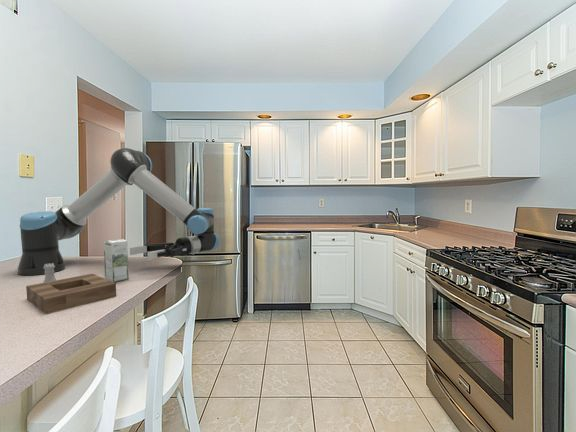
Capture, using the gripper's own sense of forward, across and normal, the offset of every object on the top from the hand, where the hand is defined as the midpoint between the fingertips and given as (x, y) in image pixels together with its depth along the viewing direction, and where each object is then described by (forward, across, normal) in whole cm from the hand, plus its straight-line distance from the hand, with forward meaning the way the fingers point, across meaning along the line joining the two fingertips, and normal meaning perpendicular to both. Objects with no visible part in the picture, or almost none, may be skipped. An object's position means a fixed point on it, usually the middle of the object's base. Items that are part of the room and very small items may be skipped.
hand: (138, 253), depth 122 cm
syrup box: (+8, 0, -8) cm, 12 cm away
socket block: (+25, -8, -8) cm, 28 cm away
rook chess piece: (+26, +9, -9) cm, 29 cm away
